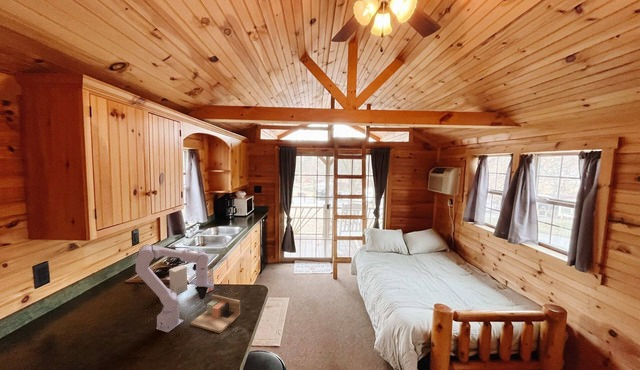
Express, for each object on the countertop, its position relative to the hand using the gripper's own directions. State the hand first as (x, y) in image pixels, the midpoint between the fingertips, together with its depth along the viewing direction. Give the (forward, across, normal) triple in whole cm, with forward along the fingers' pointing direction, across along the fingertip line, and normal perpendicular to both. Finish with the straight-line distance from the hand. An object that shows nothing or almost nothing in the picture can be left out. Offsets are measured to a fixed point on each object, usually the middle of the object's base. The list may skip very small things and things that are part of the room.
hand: (202, 298), depth 134 cm
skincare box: (+10, +33, -13) cm, 37 cm away
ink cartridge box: (+10, +18, -20) cm, 28 cm away
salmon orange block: (+8, -9, -3) cm, 12 cm away
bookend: (+8, -14, -4) cm, 16 cm away
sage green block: (+8, -4, -4) cm, 10 cm away
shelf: (+9, -10, 0) cm, 14 cm away
